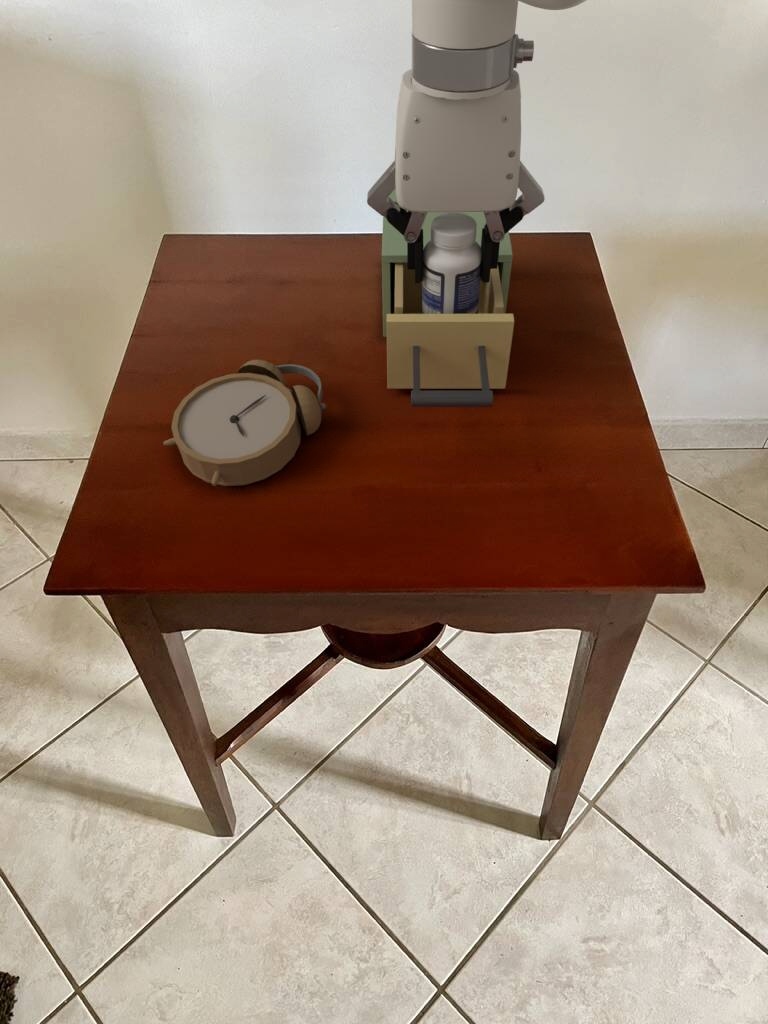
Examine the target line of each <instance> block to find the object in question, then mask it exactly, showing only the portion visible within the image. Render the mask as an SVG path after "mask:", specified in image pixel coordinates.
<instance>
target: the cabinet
mask: <svg viewBox="0 0 768 1024" xmlns="http://www.w3.org/2000/svg"><path fill="white" fill-rule="evenodd" d="M389 197H390V198H391V199H392V201H393V202H397V197H396V188H395V189H394V190H393V191H392V193H391V194H390V195H389ZM406 211H407V210H406ZM500 211H501V210H500ZM445 213H462V214H466V215H468V216H470V217H472V218H473V219H474V220H475V221H476V225H477V226H476V239H475V241H476V242H477V243H478V244H479V246H480V247H481V238H482V228H484V226H485V225H486V223H487V222H486V218H485V215H484V212H427V215H426V218H425V220H424V223H423V226H422V228H421V229H423V250H424V248H425V246H426V244H427V243H428V242H429V241H430V240H431V223H432V221H433V219H434V218H436V217H437V216H439V215H442V214H445ZM381 237H382V238H381V279H382V280H381V288H382V336H383V338H387V314H395V262H407V242H406V241H405V239H404V236H403V235H402V234H401V233H400V232H399V231H398V230H397V229H395V228H394V227H393V226H392V225H391V224H390V223H389V222H388V221H387V219H386V218H385V217H384V216H382V236H381ZM513 257H514V255H513V247H512V242H511V237H510V231H508V232H507V233H506V234H505V237H504V239H503V240H502V241H500V246H499V256H498V269H499V276H500V283H501V290H502V297H503V304H504V310H503V314H507V313H506V312H507V304H508V296H509V289H510V281H511V272H512V266H513V265H512V264H513Z"/></svg>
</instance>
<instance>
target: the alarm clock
mask: <svg viewBox="0 0 768 1024" xmlns="http://www.w3.org/2000/svg"><path fill="white" fill-rule="evenodd" d="M285 374H297V375H301V376H304V377H307V378H308V379H310V380H311V381H313V382H314V383H315V384H316V386H317V387H318V391H317V396H316V395H315V393H314V392H313V391H312V390H311V388H309V387H308V386H306V385H303V384H302V385H301V384H296V385H292V386H291V388H292V389H290V388H289V387H286V379H285V377H284V375H285ZM322 398H323V386H322V380H321V378H320V377H319V376H318V374H317V373H316V372H314V371H313V370H312V369H311V368H308V367H306V366H303V365H299V364H294V363H293V364H291V363H288V364H281V365H274V364H273V363H271V362H269V361H267V360H263V359H252V360H248V361H246V362H245V363H244V364H242V366H240V368H239V369H238V371H237V373H230V374H229V373H228V374H226V375H225V374H224V375H221V376H219V377H214V378H212V379H210V380H208V381H206V382H203V384H201V385H198V386H196V387H195V388H194V389H193V390H191V391H190V392H189V393H188V394H187V395H186V396H185V397H183V398H182V400H181V401H180V403H179V404H178V406H177V407H176V409H175V411H174V412H173V417H172V421H171V427H170V428H171V433H172V435H173V437H171V438H168V439H167V440H164V441H163V446H164V447H167V446H169V447H170V446H174V445H176V447H177V448H178V450H179V453H180V455H181V458H182V461H183V465H185V467H187V469H188V470H189V471H190V473H191V474H192V475H193V476H195V477H196V478H198V479H201V480H202V481H204V482H206V483H207V484H208V483H209V484H211V486H213V487H216V486H221V487H235V486H246V485H251V484H253V483H255V482H256V483H257V482H260V481H263V480H266V479H267V478H269V477H271V476H272V475H274V474H276V473H278V472H279V471H281V470H282V469H283V468H284V467H285V466H286V465H287V464H288V463H289V462H290V461H291V460H292V459H293V458H294V456H295V455H296V452H297V450H298V448H299V446H300V444H301V438H302V428H303V430H304V432H305V435H306V436H310V435H312V434H314V433H315V432H316V431H318V429H319V428H320V425H321V423H322V413H323V410H325V409H326V408H327V405H326V403H324V402H322ZM299 418H300V420H299ZM300 423H301V424H300ZM301 425H302V426H301Z"/></svg>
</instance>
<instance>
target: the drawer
mask: <svg viewBox="0 0 768 1024" xmlns="http://www.w3.org/2000/svg"><path fill="white" fill-rule="evenodd" d="M503 310H504V304H503V297H502V290H501V283H500V276H499V269H498V266H497V269H491V270H490V281H489V282H486V283H484V282H483V281H481V280H480V293H479V307H478V314H422V282H421V283H415V270H407V262H395V314H387V337H386V364H387V365H386V368H387V369H386V378H387V379H386V382H387V385H386V387H387V389H393V390H394V389H397V390H398V389H400V390H401V389H405V390H406V389H409V390H410V389H411V390H410V406H411V407H412V408H492V407H493V406H494V391H493V390H494V389H497V390H498V389H499V390H501V389H504V390H505V389H506V386H507V379H508V372H509V364H510V358H511V357H510V356H511V348H512V342H513V335H514V327H515V317H514V313H506V314H503ZM421 389H423V390H421ZM424 389H426V390H424ZM427 389H430V390H427ZM432 389H440V390H432ZM442 389H443V390H442ZM446 389H451V390H446ZM452 389H453V390H452ZM455 389H456V390H455ZM457 389H458V390H457ZM460 389H461V390H460ZM463 389H464V390H463ZM465 389H466V390H465ZM467 389H468V390H467ZM469 389H471V390H469ZM474 389H476V390H474ZM477 389H480V390H477ZM490 389H492V390H490Z"/></svg>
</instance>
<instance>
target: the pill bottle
mask: <svg viewBox="0 0 768 1024" xmlns="http://www.w3.org/2000/svg"><path fill="white" fill-rule="evenodd" d="M476 226H477V225H476V221H475V220H474V219H473V218H472V217H470V216H468V215H466V214H462V213H445V214H442V215H439V216H437V217H436V218H434V219H433V221H432V223H431V240H430V241H429V242H428V243H427V244H426V246H425V248H424V250H423V282H422V314H478V307H479V293H480V280H481V266H482V250H481V247H480V246H479V244H478V243H477V242H476V241H475V239H476Z"/></svg>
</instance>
